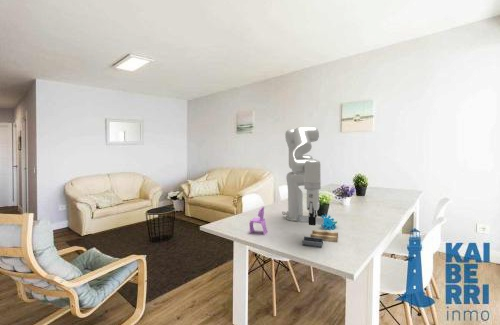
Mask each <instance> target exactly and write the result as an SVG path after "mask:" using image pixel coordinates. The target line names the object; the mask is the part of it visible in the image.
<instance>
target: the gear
mask: <svg viewBox="0 0 500 325" xmlns="http://www.w3.org/2000/svg"><path fill="white" fill-rule="evenodd" d="M331 217H332V216H331V215H327V214H324V215H322V214H321V216H320V217H319V218H324V223H323V225H320V226H321V228H323V227H324V228H323V229H324V230H328V231H331V230H335V228H336V227H337V225H336V224H338V221H336V220H335V218H333V217H332V218H331ZM334 220H335V221H334Z"/></svg>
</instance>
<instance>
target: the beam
mask: <svg viewBox="0 0 500 325" xmlns="http://www.w3.org/2000/svg"><path fill="white" fill-rule="evenodd" d="M309 237H315V238H323V242H324V241H325V242H334V243H338V240H339V232H337V231H327V230H325V231H324V230H316V229H312V230H311V234H310V236H309Z"/></svg>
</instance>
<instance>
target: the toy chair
mask: <svg viewBox="0 0 500 325" xmlns="http://www.w3.org/2000/svg"><path fill="white" fill-rule="evenodd" d="M264 215H265V207H264V206H261V207H260V209H259V210H258V215H257V216H258V217H253V218H252V219H251V220H250V221H249V234H250V235H251V234H253V232H255V228H254V223H255V224H260V225H261V226H262V231H263V232H262V233H263V236H265V235H267V233H268V232H269V231H268V228H267V223H266V222H267V221H266V220H265V218H264Z"/></svg>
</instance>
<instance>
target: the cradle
mask: <svg viewBox="0 0 500 325" xmlns="http://www.w3.org/2000/svg"><path fill="white" fill-rule="evenodd" d="M301 243H302V244H301V245H302V247H303V246H304V247H313V248H321V249H322V248H323V246H324V245H323V244H324V241H323V238H315V237H310V236H305V235H304V237H303V239H302V241H301Z"/></svg>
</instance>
